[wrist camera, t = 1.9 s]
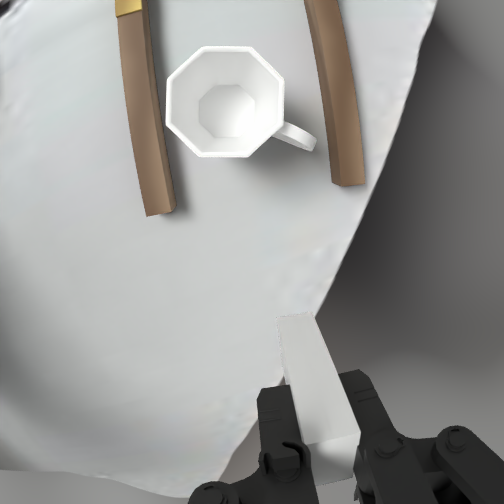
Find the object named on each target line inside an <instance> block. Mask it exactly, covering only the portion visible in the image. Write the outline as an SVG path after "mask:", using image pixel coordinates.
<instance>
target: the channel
mask: <svg viewBox="0 0 504 504" xmlns="http://www.w3.org/2000/svg"><path fill="white" fill-rule="evenodd" d="M304 4H305V9H306V13H307V18H308V23H309V28H310V33H311V38H312V43H313V48H314V54H315V59H316V65H317V71H318V77H319V83H320V89H321V96H322V103H323V110H324V117H325V124H326V132H327V140H328V149H329V158H330V167H331V178H332V182H333V183H335V184H337V185H339V186H341V187H342V186H351V185H360V184H365V175H364V163H363V152H362V142H361V133H360V124H359V116H358V108H357V101H356V94H355V88H354V81H353V75H352V69H351V64H350V58H349V53H348V48H347V42H346V38H345V33H344V28H343V23H342V19H341V15H340V10H339V6H338V2H337V0H304ZM115 13H116V17H117V20H118V34H119V46H120V57H121V67H122V76H123V84H124V92H125V100H126V107H127V114H128V121H129V128H130V134H131V140H132V146H133V152H134V157H135V163H136V168H137V173H138V179H139V184H140V189H141V194H142V198H143V203H144V208H145V212H146V217H147V216H152V215H158V214H163V213H168V212H172V210H173V209H174V208H175V207H176V206H177V204H176V199H175V194H174V189H173V183H172V178H171V173H170V167H169V161H168V156H167V150H166V144H165V138H164V132H163V126H162V119H161V113H160V106H159V99H158V92H157V85H156V77H155V69H154V61H153V53H152V44H151V35H150V25H149V14H148V3H147V0H115Z"/></svg>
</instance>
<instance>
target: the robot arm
mask: <svg viewBox="0 0 504 504" xmlns="http://www.w3.org/2000/svg"><path fill="white" fill-rule="evenodd" d="M276 319H277V326H278V334H279V343H280V351H281V359H282V367H283V372H284V376H285V381H286V385H282V386H276V387H270V388H263V389H261V391H260V393H259V396H258V398H257V409H258V419H259V430H260V440H261V452H260V454H259V460H258V462H259V465H260V466H259V468H258V469H257V471H256V472H255V473H253V474H252V475H251V476H249V477H247V478H245V479H244V480H240V481H238V482H235V483H232V484H227V483H224V482H220V481H211V482H208V483H204V484H202V485H200V486H199V487H197V488H196V489H195V490H194V492H193V493H192V495H191V496H190V499H189V502H188V504H319V501H318V496H317V492H316V488H315V486H319V485H324V484H328V483H333V482H337V481H341V480H345V479H349V478H352V477H353V473H355V476H356V480H357V485H356V490H355V493H354V501H355V500H358V498H359V502H360V504H504V461H503V460H502V459H501V458H500V457H499V456H498V455H497V454H495V453H494V452H493V451H492V450H491V449H490V448H489V447H488V446H487V445H486V444H485V443H484V442H482V441H481V440H480V439H479V438H478V437H477V436H476V435H475V434H474V433H473V432H472V431H470V430H469V429H467V428H465V427H462V426H458V425H457V426H450V427H447V428H445V429H443V430H442V431H441V432H440V433H439V434H438V436H437V437H435V438H425V439H412V438H408V437H405V436H404V435H402V434H400V433H399V432H397V431H396V429H395V428H394V426H393V424H392V422H391V420H390V418H389V416H388V414H387V412H386V410H385V408H384V406H383V404H382V402H381V400H380V398H379V397H378V394H377V392H376V390H375V389H374V386H373V384H372V382H371V380H370V378H369V377H368V376H367V375H366V374H364V373H363V372H362V371H360V370H359V369H358V370H354V371H350V372H345V373H341V374H337V371H336V369H335V366H334V364H333V362H332V359H331V357H330V354H329V352H328V349H327V347H326V345H325V342H324V340H323V337H322V335H321V333H320V330H319V328H318V326H317V323H316V321H315V318H314V316H313V314H312V311H311V312H305V313H300V314H294V315H288V316H282V317H276Z"/></svg>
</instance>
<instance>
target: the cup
mask: <svg viewBox="0 0 504 504" xmlns="http://www.w3.org/2000/svg"><path fill="white" fill-rule="evenodd" d="M284 83H285V79H284V78H283V77H282V76H281V75H280V74H279V73H278V72H277V71H276V70H275V69H274V68H273V67H272V66H271V65H270V64H269V63H268V62H267V61H265V60H264V59H263V58H262V57H261V56H260V55H259V54H258V53H257V52H256V51H255V50H254V49H253V48H252V47H237V46H210V47H201V48H200V49H199V50H198V51H197V52H196V53H195V54H193V55H192V56H191V57H190V58H189V59H188V60H187V61H186V62H185V63H183V64H182V65H181V66H180V67H179V68H178V69H177V70H176V71H175V72H174V73H173V74H172V75H171V76H170V77H169V78H167V92H166V126H167V127H169V128H170V129H171V130H172V131H173V132H174V133H175V134H176V135H177V136H178V137H179V138H180V139H181V140H182V141H183V142H184V143H185V144H186V145H187V146H188V147H189V148H190V149H191V150H192V151H193V152H194V153H195V154H196V155H197V156H198V157H249V156H250V155H251V154H252V153H253V152H254V151H255V150H256V149H258V148H259V147H260V146H261V145H262V144H263V143H264V142H265V141H266V140H267V139H269V138H270V137H271V136H272V137H275V138H277V139H280V140H282V141H285V142H287V143H289V144H292V145H294V146H297V147H299V148H302V149H305V150H308V151H313V148H314V146H315V144H316V142H317V139H316V138H315V137H313V136H312V135H311V134H309V133H308V132H306V131H304V130H302V129H300V128H298V127H296V126H294V125H292V124H290V123H288V122H286V121H284V120H283V119H284Z"/></svg>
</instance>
